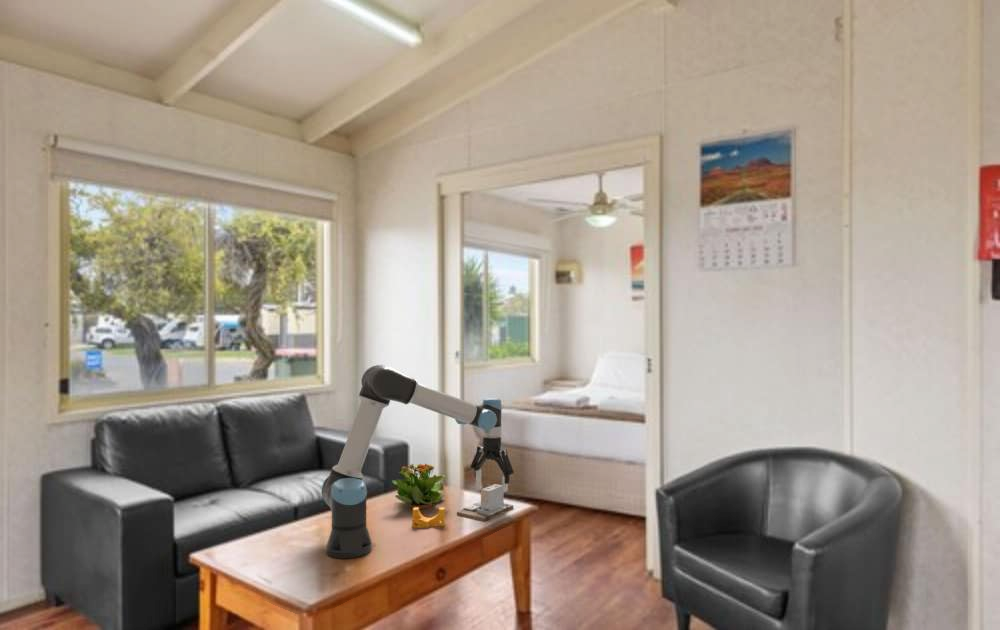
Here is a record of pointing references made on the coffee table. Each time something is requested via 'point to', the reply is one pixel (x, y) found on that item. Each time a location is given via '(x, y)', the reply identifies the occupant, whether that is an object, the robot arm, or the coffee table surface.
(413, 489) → the potted flower
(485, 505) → the leaf block
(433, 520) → the pipe clamp
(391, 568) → the coffee table surface
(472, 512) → the hinge board
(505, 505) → the leaf seat
